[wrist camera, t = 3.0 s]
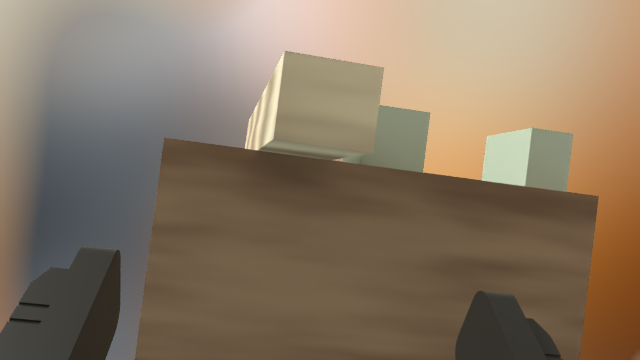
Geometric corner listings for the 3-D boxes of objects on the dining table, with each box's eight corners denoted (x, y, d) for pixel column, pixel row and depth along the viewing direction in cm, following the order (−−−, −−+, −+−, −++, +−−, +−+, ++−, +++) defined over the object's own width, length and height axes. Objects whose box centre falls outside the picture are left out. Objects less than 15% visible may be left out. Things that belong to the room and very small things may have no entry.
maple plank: (243, 160, 43) (248, 121, 43) (289, 166, 43) (294, 128, 43) (273, 138, 19) (284, 50, 19) (373, 153, 20) (383, 67, 20)
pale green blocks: (341, 169, 36) (348, 116, 37) (515, 192, 38) (521, 141, 38) (360, 167, 31) (368, 103, 31) (565, 194, 32) (573, 133, 32)
